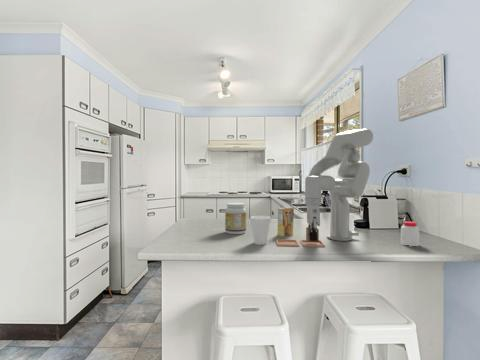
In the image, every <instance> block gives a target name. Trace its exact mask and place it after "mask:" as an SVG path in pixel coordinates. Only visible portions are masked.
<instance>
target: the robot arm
mask: <svg viewBox="0 0 480 360" xmlns="http://www.w3.org/2000/svg"><path fill="white" fill-rule="evenodd" d="M373 139H374V134H373V132H372V130H371V129H369V128H360V129H352V130H346V131H344V132H339V133H337V134H335V135H334V136H333V137H332V139H331V141H330V144H329V147H328V148H327V151H326V153H325V156H323V157H322V158H321V159H320V160H318V161H317V163H315V164H314V165H313V166H312V168H311V169H310V171H309V174H308V176H305V181H304V183H305V184H304V189H305V190H304V205H306V223H307V225H308V226H307V227H311V232H310V240H311V241H317V228H318V227H320V226H321V211H320V210H321V209H320V206H322V191H324V192H325V191H326V192H328V193H329V198H330V221H329V223H330V224H329V225H330V228H329V229H330V231H329V234H327V235H326V238H327V239H329V240H333V241H340V242H347V241H352V240H353V236H356V237H357V236H359V235H360V233H359V231H351V230H350V209H351V208H350V203H349V201H348V199H359V198H361V197H362V196H363V194H364V191H365V189H366V186H367V183H368V180H369V178H370V173H371V172H370V171H371V170H370V166H369V164H368V163H367V162H365V161H361V160H360V159H361V154H360V152H359V150H358V149H361V148H363V147H367V146H369V145H370V144H371V143H372V142H373ZM336 166H339V167H338V171H337V175H338V177H339V178H336V179H335V178H334V177H333V176H331V175H322V174H323V173H324V172H326V171H327V170H330V169H332V168H335V167H336ZM312 227H313V228H312Z"/></svg>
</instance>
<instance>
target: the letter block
mask: <svg viewBox="0 0 480 360" xmlns="http://www.w3.org/2000/svg"><path fill="white" fill-rule="evenodd" d="M312 228H313V227H312ZM305 230H306V231H305V235H306V236H305V240H307V241H308V242H319V236H320V235H319V228H318V227H317V241H311V240H310V232H311V227H308V226H307V227H306V228H305Z"/></svg>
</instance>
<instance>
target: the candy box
mask: <svg viewBox="0 0 480 360" xmlns="http://www.w3.org/2000/svg"><path fill="white" fill-rule="evenodd" d="M294 211H295V209H294V207H291V206H287V207H278V208H277V232H276V233H277V234H276V235H277V236H280V237H288V236H293V235H294V215H295V213H294Z"/></svg>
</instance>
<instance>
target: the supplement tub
mask: <svg viewBox="0 0 480 360" xmlns="http://www.w3.org/2000/svg"><path fill="white" fill-rule="evenodd" d="M245 207H246V204H245V203H244V202H237V201H236V202H227V203H226V208H225V212H224V214H225V215H224V217H225V223H224V224H225V226H224V227H225V228H224V229H225V232H226V233H227V234H229V235H243V234H245V233H246V232H247V209H246V208H245Z"/></svg>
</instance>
